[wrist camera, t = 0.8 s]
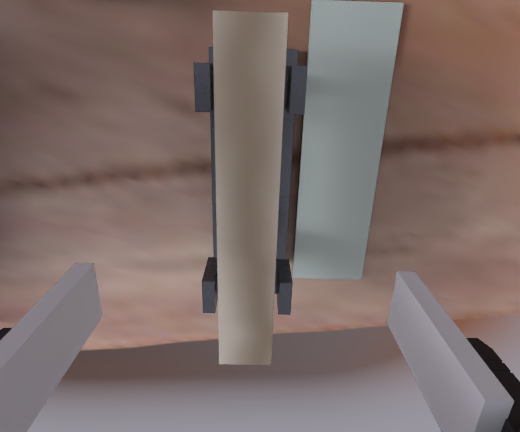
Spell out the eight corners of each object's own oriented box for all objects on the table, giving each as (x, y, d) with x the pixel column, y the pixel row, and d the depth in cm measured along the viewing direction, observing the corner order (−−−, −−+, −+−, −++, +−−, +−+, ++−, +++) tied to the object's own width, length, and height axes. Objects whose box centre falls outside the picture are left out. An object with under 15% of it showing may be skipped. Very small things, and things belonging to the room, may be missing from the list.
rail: (225, 315, 33) (219, 363, 28) (223, 24, 25) (212, 10, 19) (268, 316, 34) (270, 365, 28) (281, 26, 25) (288, 12, 19)
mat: (292, 275, 42) (292, 278, 42) (311, 1, 32) (312, -1, 31) (360, 277, 42) (361, 279, 42) (401, 3, 32) (403, 2, 31)
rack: (215, 258, 41) (198, 327, 30) (210, 47, 33) (186, 35, 22) (284, 260, 42) (294, 329, 30) (297, 50, 33) (316, 39, 22)
